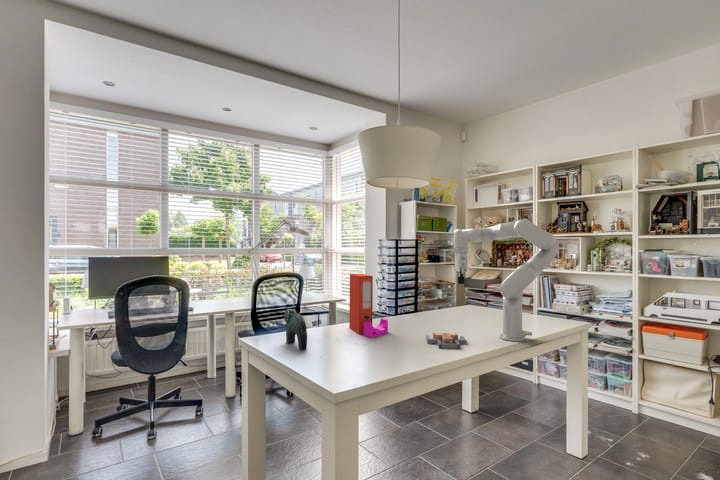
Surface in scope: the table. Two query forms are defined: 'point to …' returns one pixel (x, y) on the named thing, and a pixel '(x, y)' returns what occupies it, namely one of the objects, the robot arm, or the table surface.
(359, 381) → the table surface
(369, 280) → the file binder
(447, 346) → the T outline
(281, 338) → the table surface
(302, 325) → the dark green animal figurine
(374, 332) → the toy block
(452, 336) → the T block
